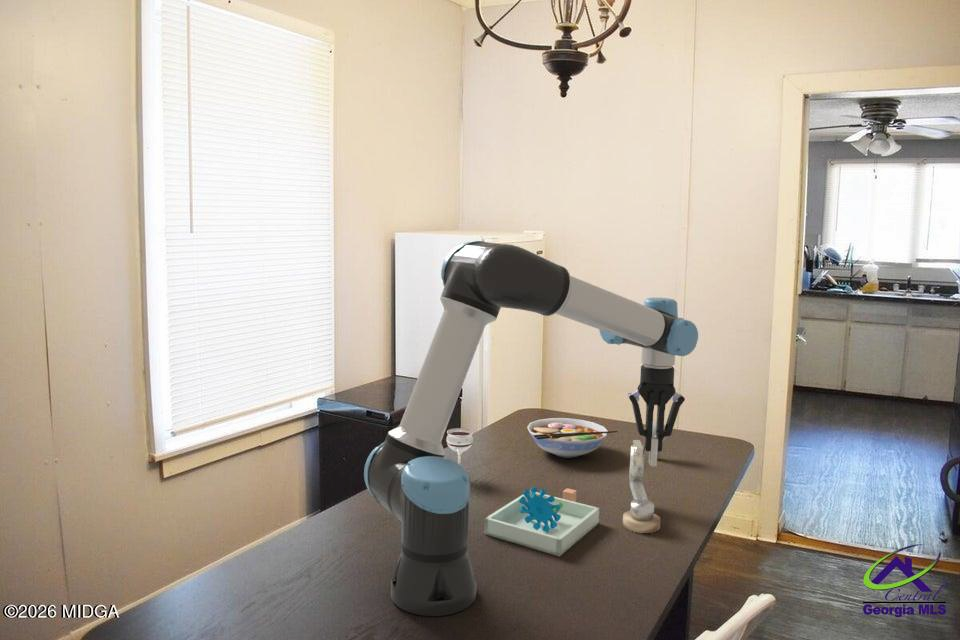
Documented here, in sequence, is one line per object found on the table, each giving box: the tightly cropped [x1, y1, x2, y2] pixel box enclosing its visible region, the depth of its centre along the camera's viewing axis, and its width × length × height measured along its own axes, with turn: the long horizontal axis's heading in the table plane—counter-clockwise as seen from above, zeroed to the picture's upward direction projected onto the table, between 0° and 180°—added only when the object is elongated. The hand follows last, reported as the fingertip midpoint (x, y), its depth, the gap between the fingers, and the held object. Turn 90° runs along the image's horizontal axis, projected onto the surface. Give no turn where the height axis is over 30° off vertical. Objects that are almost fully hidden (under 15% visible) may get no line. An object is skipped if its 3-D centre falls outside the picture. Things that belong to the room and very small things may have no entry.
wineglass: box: [446, 427, 474, 465], centre depth 187 cm, size 7×7×12 cm
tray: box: [483, 489, 600, 557], centre depth 159 cm, size 20×18×4 cm
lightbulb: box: [652, 420, 667, 459], centre depth 206 cm, size 6×6×11 cm
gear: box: [519, 486, 563, 532], centre depth 160 cm, size 11×6×10 cm
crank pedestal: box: [622, 510, 661, 534], centre depth 161 cm, size 8×8×2 cm
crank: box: [628, 439, 655, 521], centre depth 167 cm, size 18×5×12 cm, turn 175°
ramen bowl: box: [527, 417, 618, 459], centre depth 209 cm, size 25×23×8 cm
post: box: [561, 487, 577, 502], centre depth 171 cm, size 2×2×4 cm
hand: (652, 464), depth 172 cm, fingers closed
